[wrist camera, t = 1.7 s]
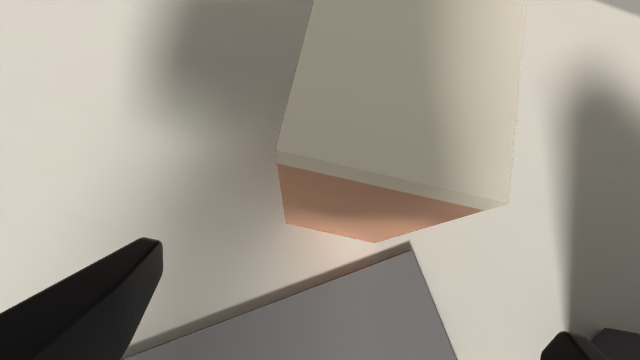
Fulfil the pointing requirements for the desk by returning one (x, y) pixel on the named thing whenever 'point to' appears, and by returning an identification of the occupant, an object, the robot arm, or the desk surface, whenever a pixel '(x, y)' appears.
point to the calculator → (618, 344)
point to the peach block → (400, 115)
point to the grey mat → (329, 323)
